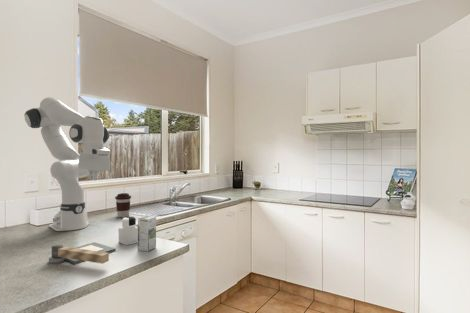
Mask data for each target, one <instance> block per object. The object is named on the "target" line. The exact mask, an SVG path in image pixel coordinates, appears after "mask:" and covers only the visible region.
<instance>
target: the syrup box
mask: <svg viewBox="0 0 470 313" xmlns="http://www.w3.org/2000/svg"><path fill="white" fill-rule="evenodd" d="M137 227H138V242H137V250H138V251H141V252H150V251H152V250H154V249H156V248H157V217H156V216H153V215H144V216H142V217H138V218H137Z"/></svg>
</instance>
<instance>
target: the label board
mask: <svg viewBox="0 0 470 313" xmlns="http://www.w3.org/2000/svg"><path fill="white" fill-rule="evenodd" d="M75 248H78V249H85V250H92V251H99V252H106V253H109V254H110V253H113V252H116V251H117V250H116V248H115V247H112V246H109V245H106V244H101V243H98V242H95V241H94V242H91V243H87V244H83V245H80V246H76V247H75ZM63 262H64V263H65V262H68V263H70V264H71V263H72V264H74V265H76V264H79V263H82V262H84V261H83V260H77V259H70V258H64V257H57V258H52V255H51V256H49V257H48V264H50V265H51V264H52V265H55V264H61V263H63Z"/></svg>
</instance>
